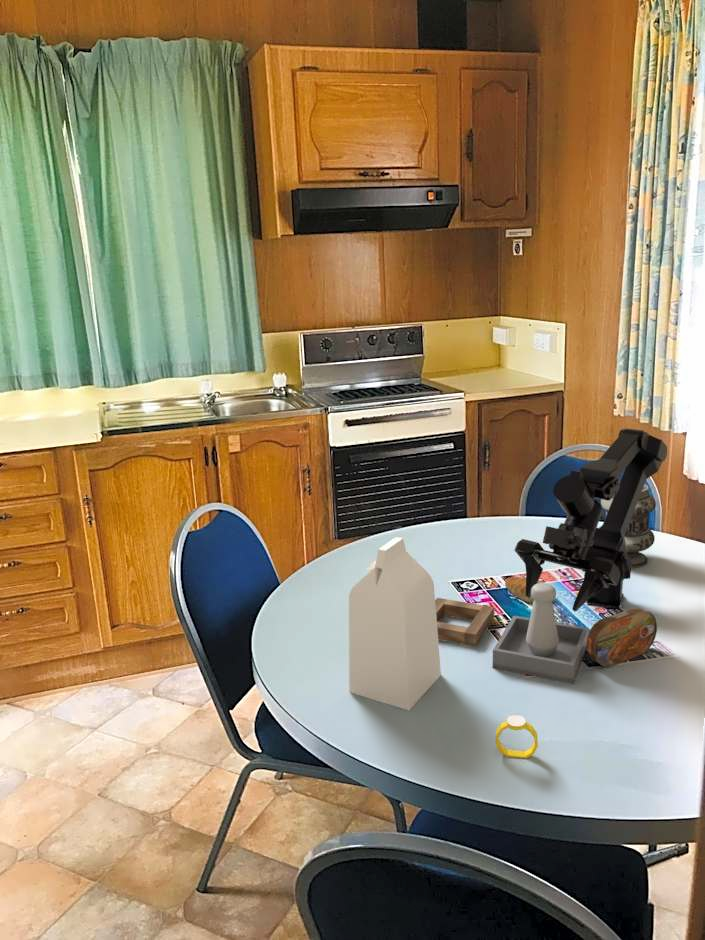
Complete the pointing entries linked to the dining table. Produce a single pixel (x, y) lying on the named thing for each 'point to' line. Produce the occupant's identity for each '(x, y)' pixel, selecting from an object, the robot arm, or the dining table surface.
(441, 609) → the brown flat square frame
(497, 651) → the bin
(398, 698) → the milk
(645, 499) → the apothecary jar
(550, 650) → the salt shaker
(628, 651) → the tin
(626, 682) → the dining table surface
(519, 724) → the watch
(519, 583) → the pastry
